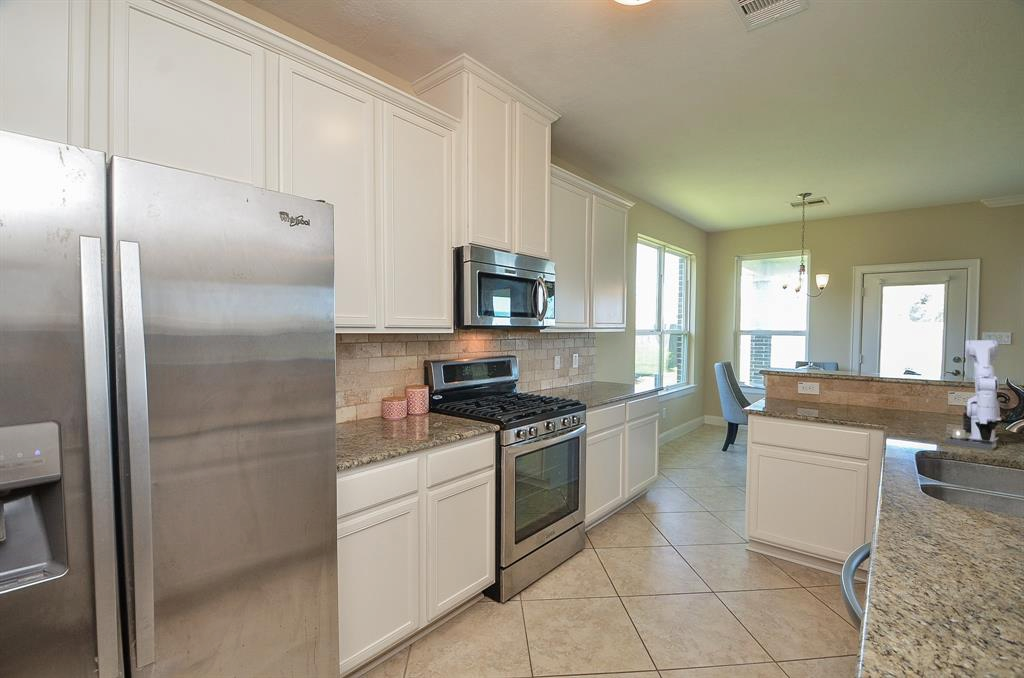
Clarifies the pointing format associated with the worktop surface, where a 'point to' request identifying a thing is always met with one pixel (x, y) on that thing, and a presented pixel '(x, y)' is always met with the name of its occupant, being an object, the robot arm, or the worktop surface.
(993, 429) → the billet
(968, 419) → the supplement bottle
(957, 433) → the billet
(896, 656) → the worktop surface
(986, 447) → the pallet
